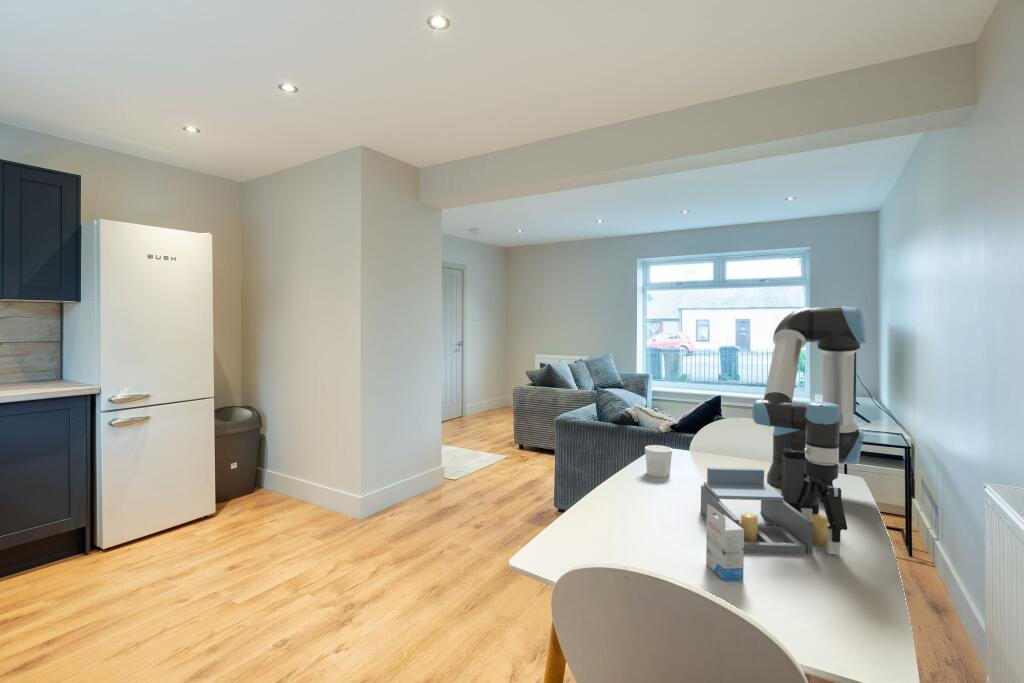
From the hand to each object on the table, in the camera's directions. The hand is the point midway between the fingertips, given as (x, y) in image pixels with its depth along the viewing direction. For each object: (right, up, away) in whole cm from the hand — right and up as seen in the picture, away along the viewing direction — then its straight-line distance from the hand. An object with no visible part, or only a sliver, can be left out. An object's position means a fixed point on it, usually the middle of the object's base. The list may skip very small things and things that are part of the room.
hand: (818, 542), depth 128 cm
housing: (-14, 0, +7) cm, 16 cm away
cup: (-25, +2, +59) cm, 64 cm away
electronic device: (+5, 0, +18) cm, 18 cm away
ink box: (-32, -1, -15) cm, 35 cm away
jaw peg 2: (0, 0, 0) cm, 0 cm away
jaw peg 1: (-18, 0, 0) cm, 18 cm away
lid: (-14, +9, +14) cm, 22 cm away
